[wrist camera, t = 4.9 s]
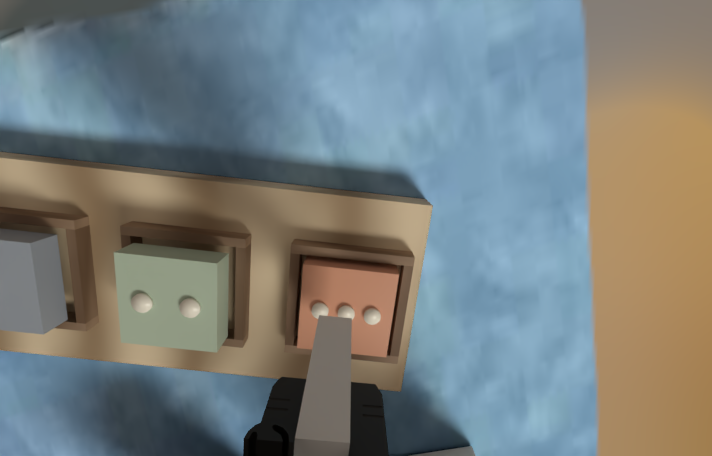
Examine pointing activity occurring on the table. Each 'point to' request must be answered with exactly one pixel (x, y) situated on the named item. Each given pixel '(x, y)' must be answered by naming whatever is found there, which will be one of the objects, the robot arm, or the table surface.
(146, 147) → the table surface
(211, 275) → the key two dots
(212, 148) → the table surface
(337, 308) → the key three dots
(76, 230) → the keypad board
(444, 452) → the milk carton
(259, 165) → the table surface
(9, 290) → the key one dot
